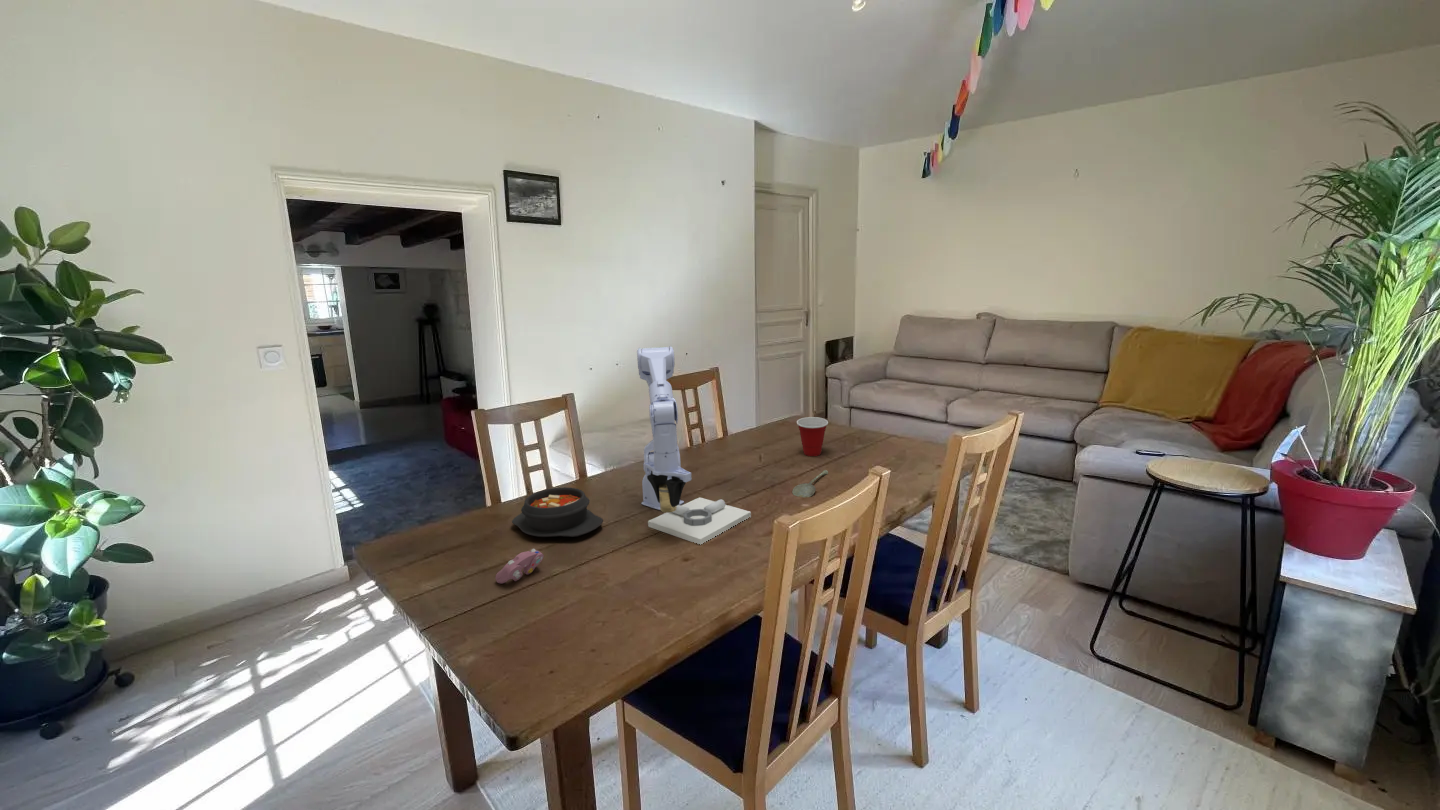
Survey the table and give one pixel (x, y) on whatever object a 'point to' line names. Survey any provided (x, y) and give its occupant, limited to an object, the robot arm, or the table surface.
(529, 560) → the video game controller
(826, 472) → the soupspoon
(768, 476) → the table surface
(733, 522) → the shaft base
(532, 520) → the casserole
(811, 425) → the plastic cup
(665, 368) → the robot arm
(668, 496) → the salt shaker
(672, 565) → the table surface
